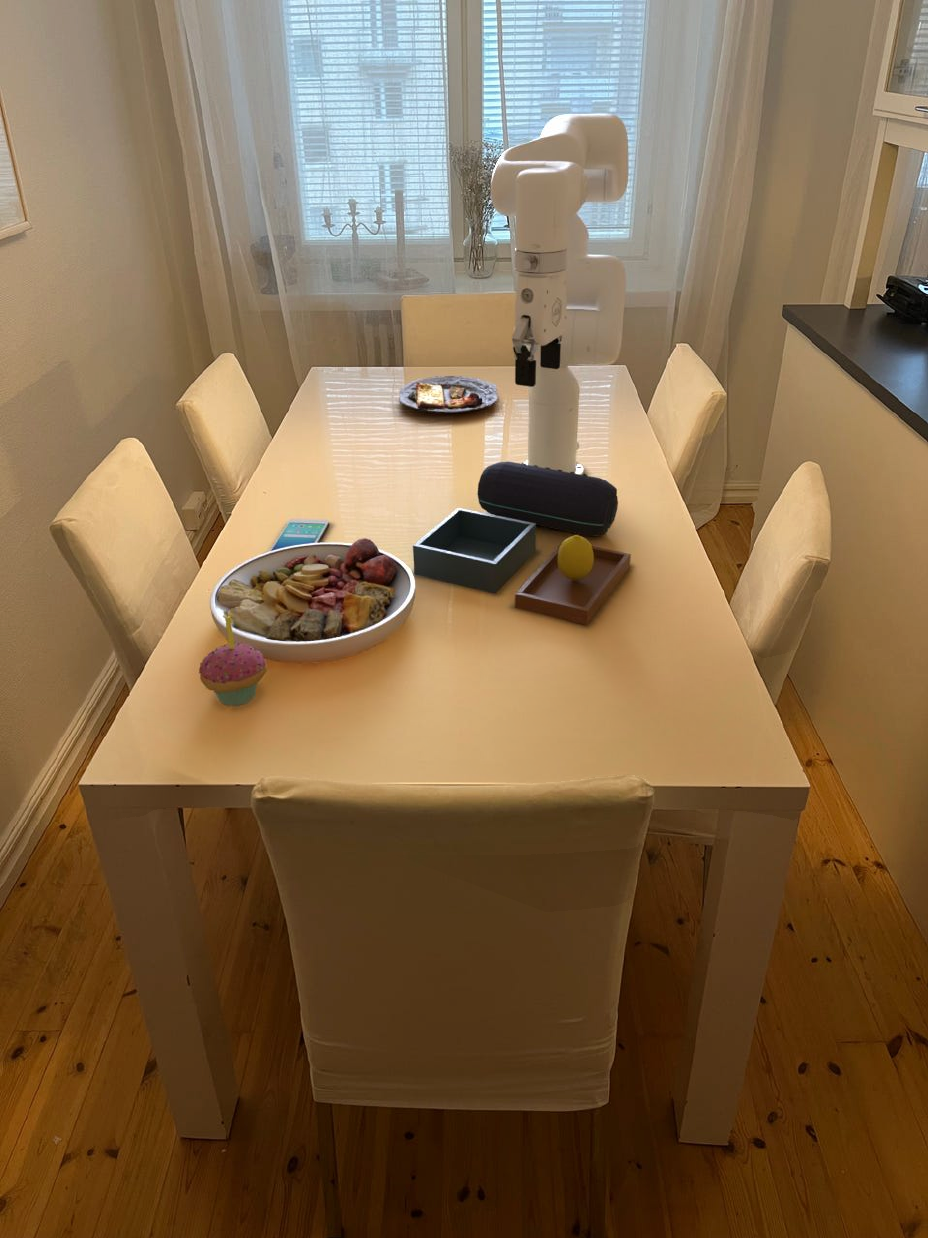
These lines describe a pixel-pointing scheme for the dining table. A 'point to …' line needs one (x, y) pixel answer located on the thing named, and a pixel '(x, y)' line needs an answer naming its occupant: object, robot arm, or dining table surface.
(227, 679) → the cupcake
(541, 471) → the portable speaker
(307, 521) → the smartphone
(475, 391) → the food plate
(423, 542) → the blue open storage box
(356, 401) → the dining table surface
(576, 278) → the robot arm
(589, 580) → the tray
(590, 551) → the lemon
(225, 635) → the bowl
